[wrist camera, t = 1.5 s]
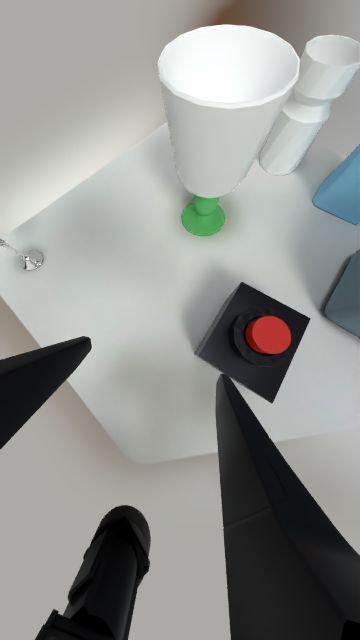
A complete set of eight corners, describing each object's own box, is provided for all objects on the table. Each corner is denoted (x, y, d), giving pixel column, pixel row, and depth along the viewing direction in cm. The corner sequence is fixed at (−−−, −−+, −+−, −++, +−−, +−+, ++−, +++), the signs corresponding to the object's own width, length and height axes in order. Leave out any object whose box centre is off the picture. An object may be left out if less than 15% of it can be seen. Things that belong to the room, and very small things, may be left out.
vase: (252, 166, 31) (295, 57, 19) (268, 144, 33) (317, 29, 21) (288, 181, 30) (356, 73, 18) (303, 157, 32) (374, 43, 20)
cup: (203, 183, 30) (225, 10, 15) (249, 219, 28) (332, 58, 13) (157, 217, 29) (127, 61, 13) (202, 258, 26) (231, 127, 11)
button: (270, 360, 15) (282, 361, 14) (239, 341, 16) (245, 340, 14) (284, 330, 16) (297, 328, 14) (254, 313, 16) (262, 308, 15)
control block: (248, 389, 21) (284, 410, 14) (194, 354, 22) (200, 356, 15) (280, 325, 23) (325, 315, 16) (228, 297, 24) (248, 274, 17)
